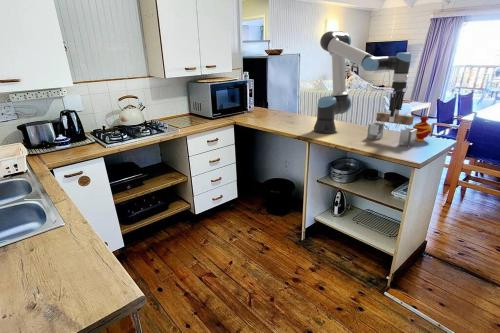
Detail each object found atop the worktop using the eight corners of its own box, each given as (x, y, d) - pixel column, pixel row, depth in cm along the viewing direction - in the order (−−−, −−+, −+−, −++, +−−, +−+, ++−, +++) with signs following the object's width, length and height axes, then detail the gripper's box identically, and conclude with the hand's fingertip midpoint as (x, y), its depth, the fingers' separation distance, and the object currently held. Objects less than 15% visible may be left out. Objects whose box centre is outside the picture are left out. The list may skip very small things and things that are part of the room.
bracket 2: (398, 144, 175) (400, 129, 171) (404, 141, 180) (407, 127, 176) (408, 146, 170) (411, 131, 167) (414, 143, 175) (417, 129, 172)
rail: (376, 120, 183) (376, 112, 181) (378, 119, 186) (379, 111, 184) (409, 125, 169) (411, 116, 167) (412, 124, 172) (413, 115, 170)
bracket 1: (382, 137, 190) (384, 123, 186) (375, 139, 184) (377, 125, 181) (373, 135, 194) (375, 122, 190) (366, 137, 189) (368, 124, 185)
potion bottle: (419, 143, 176) (424, 118, 171) (406, 138, 186) (411, 115, 180) (433, 141, 179) (439, 117, 173) (420, 137, 188) (425, 114, 183)
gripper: (399, 82, 161) (392, 124, 169) (412, 80, 171) (405, 120, 180) (386, 82, 166) (380, 122, 175) (399, 79, 177) (393, 118, 185)
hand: (393, 121), depth 177 cm, fingers closed on rail, 4 cm apart
